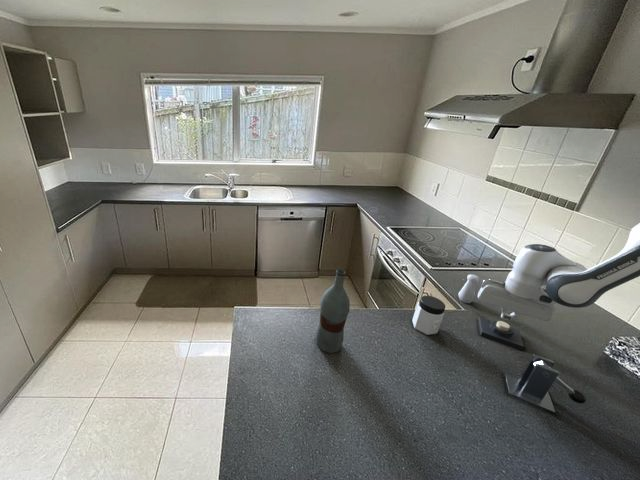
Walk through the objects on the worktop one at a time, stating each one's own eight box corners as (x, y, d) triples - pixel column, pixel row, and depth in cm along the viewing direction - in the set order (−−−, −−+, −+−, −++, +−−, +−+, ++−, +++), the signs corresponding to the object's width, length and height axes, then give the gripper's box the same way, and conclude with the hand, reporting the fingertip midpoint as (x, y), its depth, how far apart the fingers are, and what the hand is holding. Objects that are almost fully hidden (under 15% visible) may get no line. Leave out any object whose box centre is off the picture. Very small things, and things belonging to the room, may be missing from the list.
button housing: (516, 334, 106) (520, 325, 105) (521, 351, 99) (526, 342, 97) (477, 321, 112) (481, 313, 111) (479, 336, 104) (483, 328, 103)
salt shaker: (458, 302, 123) (468, 277, 118) (455, 295, 128) (464, 271, 123) (474, 306, 121) (484, 281, 116) (470, 298, 126) (480, 274, 121)
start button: (507, 327, 105) (509, 323, 104) (508, 332, 102) (510, 329, 101) (495, 323, 106) (496, 319, 106) (496, 328, 104) (498, 325, 103)
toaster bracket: (546, 393, 84) (565, 361, 79) (553, 415, 78) (575, 383, 73) (503, 376, 89) (519, 345, 84) (507, 395, 82) (525, 364, 78)
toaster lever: (574, 398, 78) (587, 394, 77) (578, 407, 76) (592, 404, 74) (531, 362, 81) (542, 357, 80) (533, 369, 79) (545, 365, 77)
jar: (422, 336, 103) (431, 310, 99) (406, 321, 111) (414, 296, 106) (442, 333, 105) (452, 307, 101) (425, 318, 112) (434, 294, 108)
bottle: (309, 344, 98) (320, 270, 87) (322, 330, 104) (334, 260, 93) (333, 359, 92) (348, 283, 81) (346, 344, 98) (361, 271, 87)
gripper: (485, 281, 100) (472, 312, 105) (563, 302, 90) (545, 335, 95) (483, 273, 105) (471, 303, 110) (557, 293, 95) (540, 325, 100)
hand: (505, 318), depth 102 cm, fingers closed
